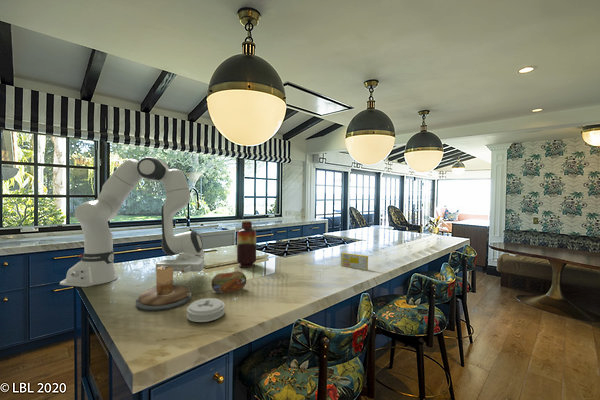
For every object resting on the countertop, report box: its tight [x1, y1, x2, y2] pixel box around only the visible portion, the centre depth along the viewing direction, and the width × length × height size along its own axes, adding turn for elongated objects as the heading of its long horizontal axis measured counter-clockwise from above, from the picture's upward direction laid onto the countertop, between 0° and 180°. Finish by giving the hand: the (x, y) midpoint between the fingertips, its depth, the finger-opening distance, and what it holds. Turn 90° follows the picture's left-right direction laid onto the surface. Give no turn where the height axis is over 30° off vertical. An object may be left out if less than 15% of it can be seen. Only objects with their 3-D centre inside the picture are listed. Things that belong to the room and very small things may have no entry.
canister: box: [155, 266, 174, 295], centre depth 111 cm, size 6×6×10 cm
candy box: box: [340, 252, 369, 272], centre depth 160 cm, size 16×2×8 cm, turn 58°
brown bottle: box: [236, 220, 257, 269], centre depth 163 cm, size 11×11×26 cm
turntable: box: [138, 284, 192, 306], centre depth 111 cm, size 20×18×2 cm
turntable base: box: [135, 289, 193, 312], centre depth 111 cm, size 20×20×2 cm
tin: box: [210, 270, 247, 295], centre depth 122 cm, size 15×3×8 cm, turn 117°
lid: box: [186, 297, 226, 323], centre depth 98 cm, size 13×13×5 cm
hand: (172, 270), depth 118 cm, fingers open, 8 cm apart
